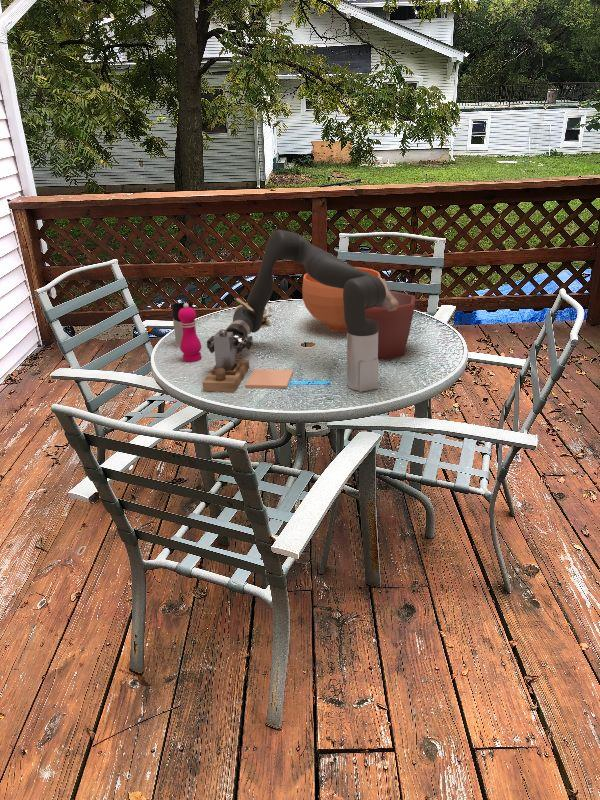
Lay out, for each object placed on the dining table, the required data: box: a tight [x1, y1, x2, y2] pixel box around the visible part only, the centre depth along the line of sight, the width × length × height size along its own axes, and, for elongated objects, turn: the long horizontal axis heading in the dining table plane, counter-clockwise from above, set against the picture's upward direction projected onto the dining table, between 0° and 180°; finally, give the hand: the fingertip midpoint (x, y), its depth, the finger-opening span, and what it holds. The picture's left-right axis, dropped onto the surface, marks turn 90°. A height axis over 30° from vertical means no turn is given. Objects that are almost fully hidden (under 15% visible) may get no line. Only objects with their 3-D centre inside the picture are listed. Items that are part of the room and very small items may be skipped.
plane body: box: [202, 358, 250, 393], centre depth 200 cm, size 20×10×6 cm, turn 172°
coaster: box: [244, 368, 294, 389], centre depth 199 cm, size 13×13×1 cm
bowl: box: [301, 266, 382, 333], centre depth 241 cm, size 30×30×20 cm
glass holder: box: [171, 301, 197, 348], centre depth 229 cm, size 9×14×15 cm, turn 28°
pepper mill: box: [178, 303, 202, 363], centre depth 215 cm, size 7×7×20 cm
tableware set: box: [227, 297, 277, 329], centre depth 261 cm, size 30×20×6 cm, turn 9°
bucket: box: [365, 278, 416, 361], centre depth 213 cm, size 24×22×25 cm
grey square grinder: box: [213, 329, 236, 371], centre depth 197 cm, size 5×5×13 cm
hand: (224, 350), depth 197 cm, fingers open, 8 cm apart
